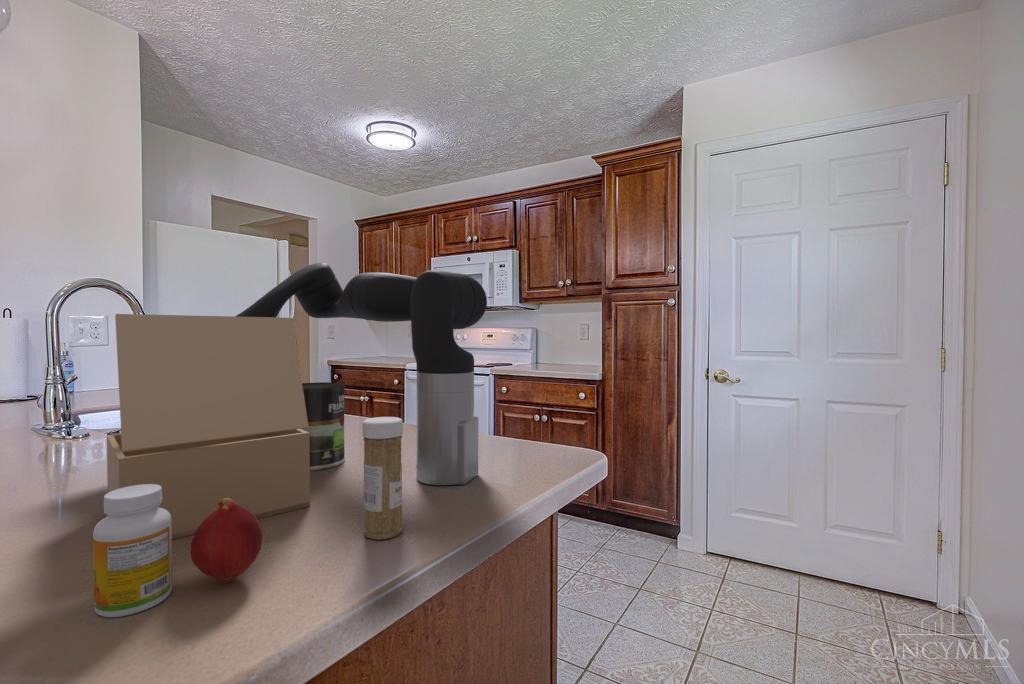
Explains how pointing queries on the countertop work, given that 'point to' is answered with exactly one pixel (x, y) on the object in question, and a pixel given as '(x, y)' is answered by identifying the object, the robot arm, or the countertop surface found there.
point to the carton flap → (206, 378)
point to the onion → (226, 542)
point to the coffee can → (325, 423)
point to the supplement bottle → (132, 552)
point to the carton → (218, 475)
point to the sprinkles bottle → (382, 477)
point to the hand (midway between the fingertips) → (217, 388)
